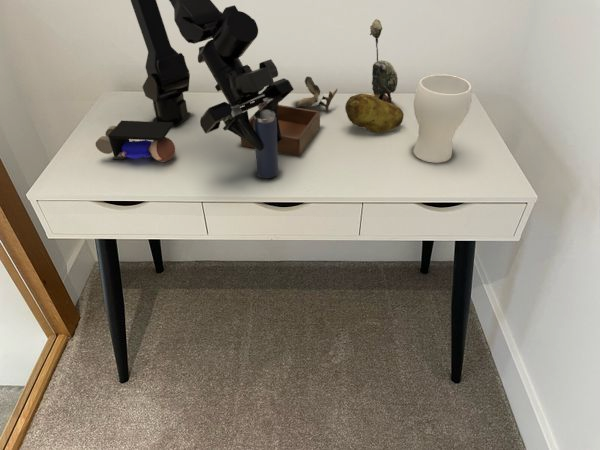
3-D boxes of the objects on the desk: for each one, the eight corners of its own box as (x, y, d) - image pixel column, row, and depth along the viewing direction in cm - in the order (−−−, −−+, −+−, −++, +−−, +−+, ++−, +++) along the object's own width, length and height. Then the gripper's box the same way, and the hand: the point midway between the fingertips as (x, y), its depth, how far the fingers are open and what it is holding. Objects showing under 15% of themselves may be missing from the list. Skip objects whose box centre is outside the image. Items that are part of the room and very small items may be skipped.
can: (253, 175, 97) (249, 117, 89) (261, 164, 100) (258, 107, 92) (273, 180, 96) (271, 121, 88) (281, 168, 99) (280, 111, 91)
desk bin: (241, 145, 107) (240, 128, 104) (265, 118, 117) (265, 102, 114) (299, 156, 103) (299, 139, 101) (319, 127, 113) (320, 111, 110)
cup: (428, 172, 99) (441, 100, 89) (396, 147, 106) (405, 79, 97) (469, 158, 103) (486, 89, 93) (436, 136, 110) (448, 69, 100)
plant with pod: (369, 119, 116) (378, 31, 103) (357, 98, 125) (363, 14, 112) (403, 117, 117) (415, 29, 104) (389, 96, 126) (399, 12, 113)
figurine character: (102, 169, 102) (171, 168, 99) (89, 136, 98) (160, 134, 95) (117, 152, 108) (182, 151, 105) (104, 120, 103) (172, 117, 100)
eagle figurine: (339, 98, 122) (306, 84, 124) (337, 81, 115) (303, 67, 118) (323, 123, 121) (291, 109, 123) (321, 108, 114) (287, 93, 116)
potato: (402, 140, 108) (407, 105, 103) (342, 136, 110) (344, 102, 105) (402, 122, 115) (406, 89, 110) (345, 118, 116) (347, 85, 111)
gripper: (201, 62, 80) (250, 148, 81) (286, 34, 90) (329, 110, 91) (180, 94, 90) (224, 170, 90) (259, 65, 100) (298, 134, 101)
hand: (271, 145), depth 93 cm, fingers closed on can, 4 cm apart
